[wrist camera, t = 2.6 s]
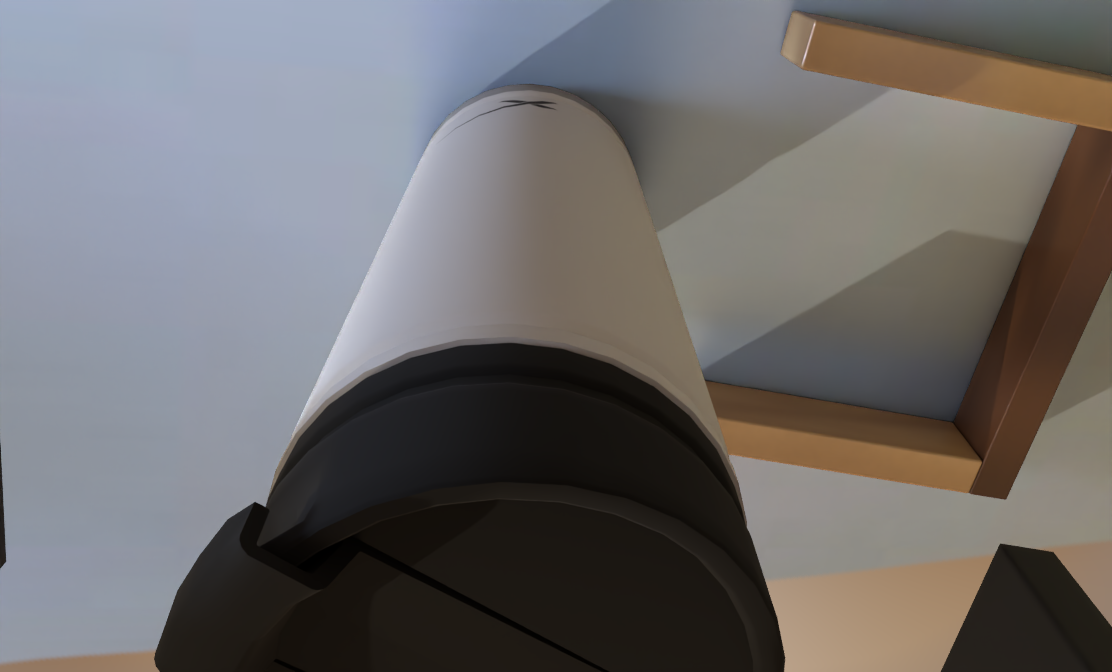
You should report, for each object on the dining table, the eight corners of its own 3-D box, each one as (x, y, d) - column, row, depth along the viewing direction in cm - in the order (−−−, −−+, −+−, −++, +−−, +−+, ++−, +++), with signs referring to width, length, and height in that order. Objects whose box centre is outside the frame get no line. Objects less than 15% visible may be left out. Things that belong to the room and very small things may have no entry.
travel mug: (488, 27, 26) (356, 346, 8) (680, 168, 27) (947, 708, 9) (366, 209, 28) (33, 802, 10) (551, 331, 30) (563, 1031, 11)
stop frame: (791, 9, 26) (815, 20, 23) (1139, 80, 27) (1192, 97, 24) (679, 409, 31) (690, 449, 29) (974, 458, 32) (1006, 500, 29)
